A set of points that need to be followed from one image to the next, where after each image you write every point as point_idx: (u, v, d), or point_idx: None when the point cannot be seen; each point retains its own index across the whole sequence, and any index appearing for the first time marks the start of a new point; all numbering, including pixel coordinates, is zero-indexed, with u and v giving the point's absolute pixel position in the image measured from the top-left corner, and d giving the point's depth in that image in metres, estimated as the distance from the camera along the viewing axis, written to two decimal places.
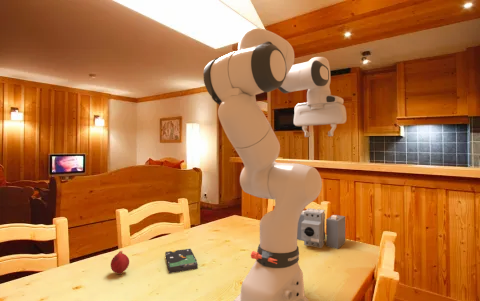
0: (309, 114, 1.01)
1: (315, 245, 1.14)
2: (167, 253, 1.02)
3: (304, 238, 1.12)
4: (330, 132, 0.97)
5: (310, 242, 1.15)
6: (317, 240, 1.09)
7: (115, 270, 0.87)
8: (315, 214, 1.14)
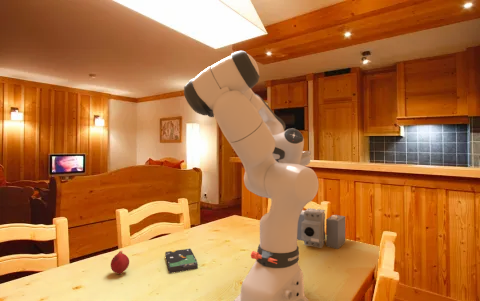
0: None
1: (315, 245, 1.14)
2: (167, 253, 1.02)
3: (304, 238, 1.12)
4: None
5: (310, 242, 1.15)
6: (317, 240, 1.09)
7: (115, 270, 0.87)
8: (315, 214, 1.14)
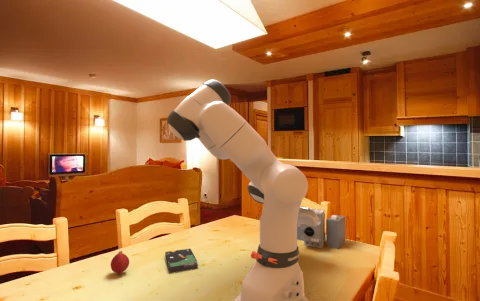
0: None
1: (315, 245, 1.14)
2: (167, 253, 1.02)
3: (304, 238, 1.12)
4: None
5: (310, 242, 1.15)
6: (317, 240, 1.09)
7: (115, 270, 0.87)
8: None
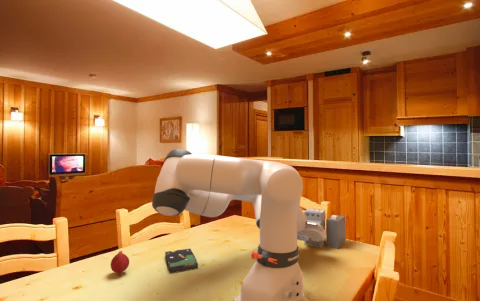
0: None
1: (315, 245, 1.14)
2: (167, 253, 1.02)
3: None
4: None
5: (310, 242, 1.15)
6: (317, 240, 1.09)
7: (115, 270, 0.87)
8: (315, 214, 1.14)
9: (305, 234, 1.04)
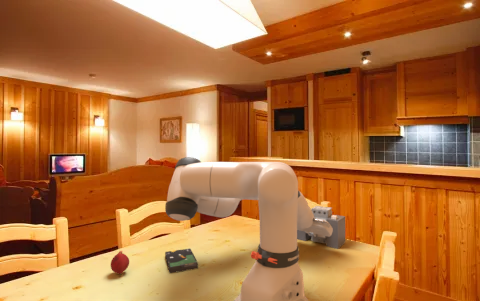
0: None
1: (322, 241, 1.18)
2: (167, 253, 1.02)
3: None
4: None
5: (317, 238, 1.19)
6: (323, 236, 1.13)
7: (115, 270, 0.87)
8: (322, 211, 1.18)
9: (312, 230, 1.09)
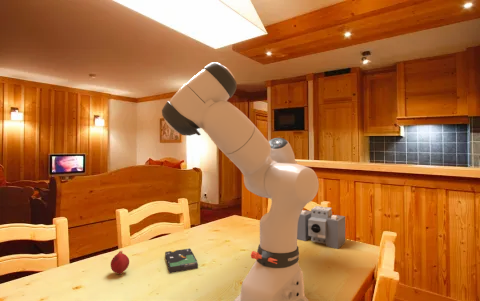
0: None
1: (322, 241, 1.18)
2: (167, 253, 1.02)
3: (311, 234, 1.16)
4: None
5: (317, 238, 1.19)
6: (323, 236, 1.13)
7: (115, 270, 0.87)
8: (322, 211, 1.18)
9: None
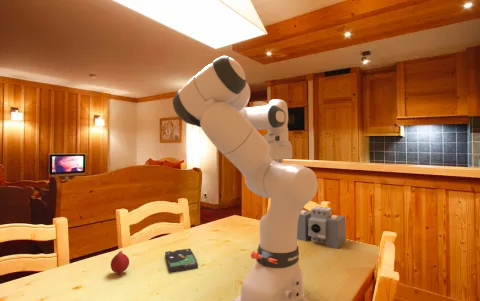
0: None
1: (322, 241, 1.18)
2: (167, 253, 1.02)
3: (311, 234, 1.16)
4: None
5: (317, 238, 1.19)
6: (323, 236, 1.13)
7: (115, 270, 0.87)
8: (322, 211, 1.18)
9: (284, 153, 1.12)
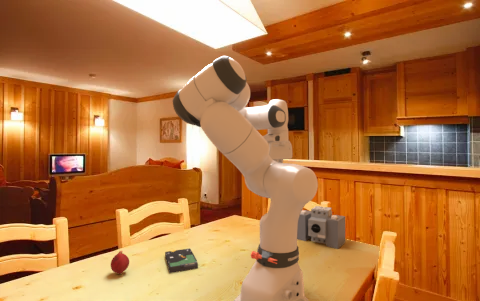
0: None
1: (322, 241, 1.18)
2: (167, 253, 1.02)
3: (311, 234, 1.16)
4: None
5: (317, 238, 1.19)
6: (323, 236, 1.13)
7: (115, 270, 0.87)
8: (322, 211, 1.18)
9: (284, 153, 1.12)
